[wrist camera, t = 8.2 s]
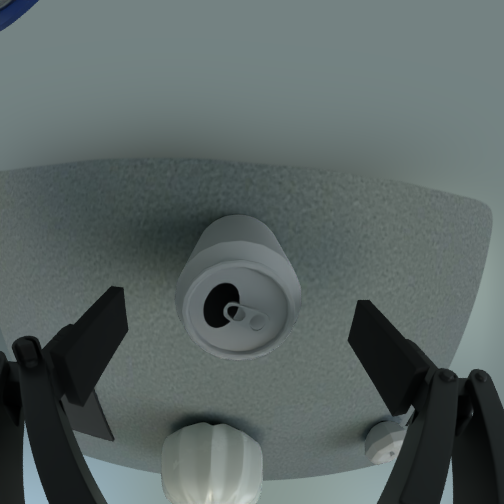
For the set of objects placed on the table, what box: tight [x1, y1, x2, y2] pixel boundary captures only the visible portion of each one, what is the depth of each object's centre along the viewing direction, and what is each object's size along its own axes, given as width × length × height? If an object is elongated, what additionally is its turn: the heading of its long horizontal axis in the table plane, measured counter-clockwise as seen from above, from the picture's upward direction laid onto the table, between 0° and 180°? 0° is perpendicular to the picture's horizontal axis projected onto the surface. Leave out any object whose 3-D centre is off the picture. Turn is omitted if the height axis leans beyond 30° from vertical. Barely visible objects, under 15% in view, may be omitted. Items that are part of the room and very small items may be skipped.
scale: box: [61, 389, 114, 441], centre depth 30 cm, size 17×11×2 cm, turn 176°
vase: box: [161, 422, 263, 504], centre depth 27 cm, size 14×14×13 cm
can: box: [175, 214, 301, 361], centre depth 20 cm, size 8×8×12 cm
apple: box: [365, 421, 407, 465], centre depth 33 cm, size 8×8×7 cm
